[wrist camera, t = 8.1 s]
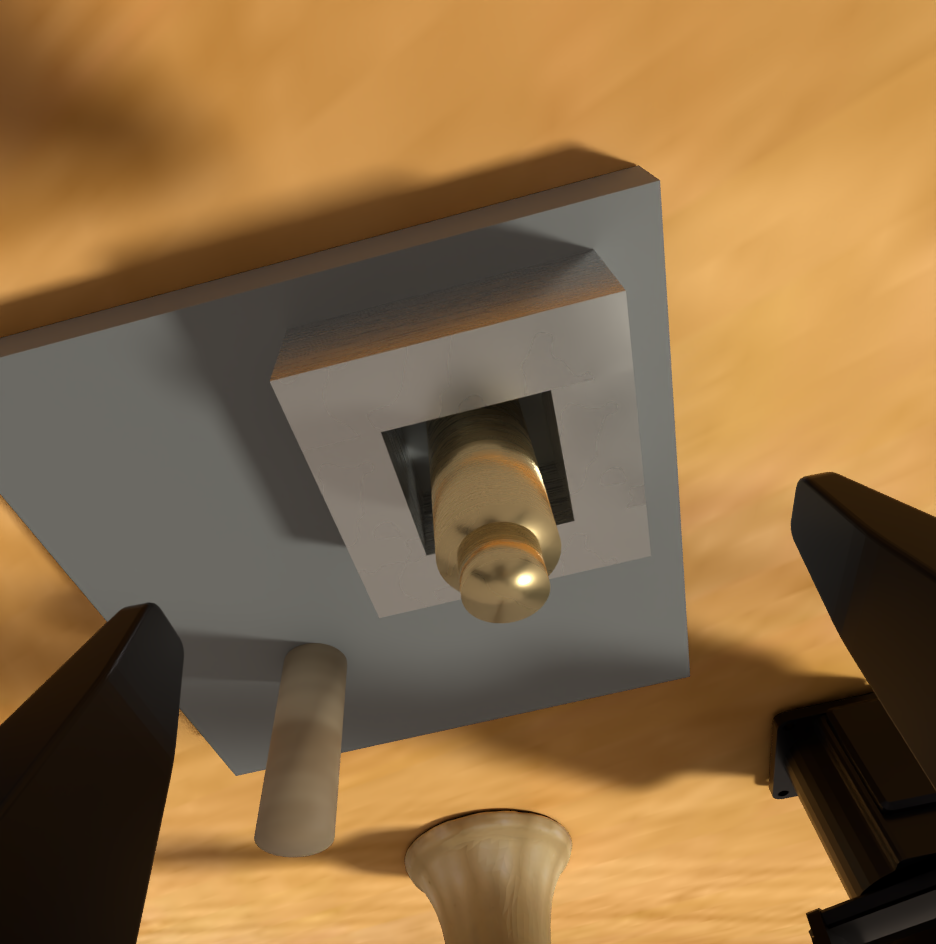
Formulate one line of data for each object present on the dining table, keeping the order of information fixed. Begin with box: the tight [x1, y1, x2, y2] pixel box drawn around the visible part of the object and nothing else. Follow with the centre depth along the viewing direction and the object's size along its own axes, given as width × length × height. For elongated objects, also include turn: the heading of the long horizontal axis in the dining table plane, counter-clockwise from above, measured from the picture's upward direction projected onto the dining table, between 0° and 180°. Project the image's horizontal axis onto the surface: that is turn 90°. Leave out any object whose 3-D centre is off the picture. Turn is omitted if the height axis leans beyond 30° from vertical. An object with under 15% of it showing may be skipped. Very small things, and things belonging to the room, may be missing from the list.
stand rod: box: [254, 643, 347, 857], centre depth 19 cm, size 2×2×6 cm
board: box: [0, 165, 690, 776], centre depth 20 cm, size 17×17×2 cm
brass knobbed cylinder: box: [426, 399, 561, 623], centre depth 14 cm, size 2×2×6 cm
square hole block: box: [270, 249, 651, 618], centre depth 16 cm, size 7×7×2 cm
